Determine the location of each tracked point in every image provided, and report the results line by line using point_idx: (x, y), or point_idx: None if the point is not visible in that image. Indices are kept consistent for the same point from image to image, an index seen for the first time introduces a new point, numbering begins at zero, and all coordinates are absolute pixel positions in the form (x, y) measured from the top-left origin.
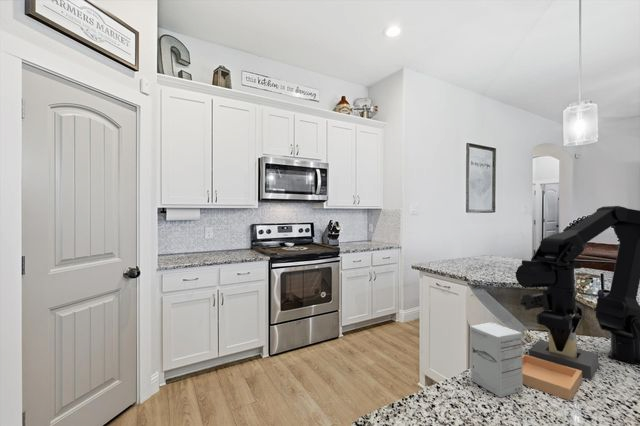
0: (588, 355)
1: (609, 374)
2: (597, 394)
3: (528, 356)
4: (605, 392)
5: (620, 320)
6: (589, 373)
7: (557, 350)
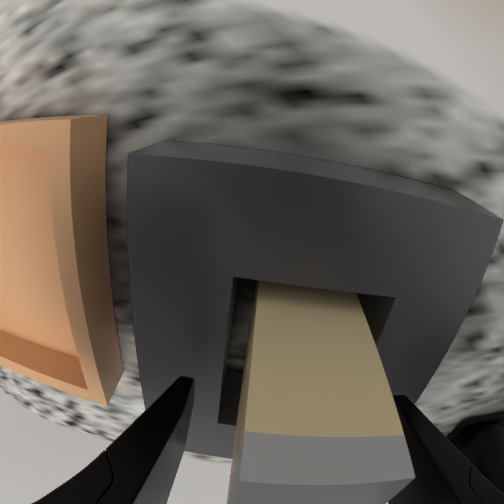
0: None
1: None
2: None
3: (52, 169)
4: (101, 407)
5: None
6: None
7: (181, 377)
